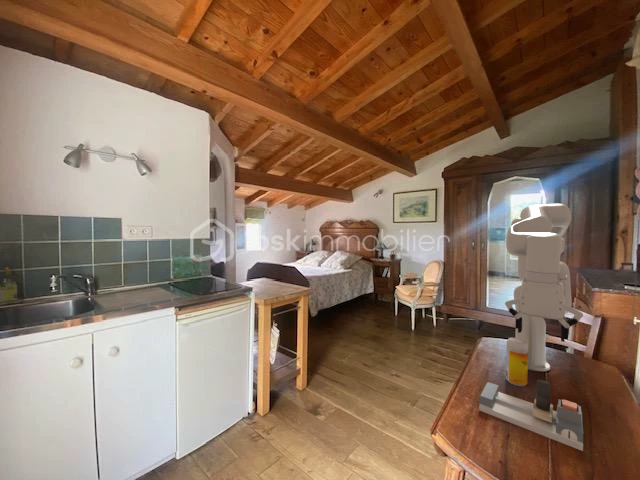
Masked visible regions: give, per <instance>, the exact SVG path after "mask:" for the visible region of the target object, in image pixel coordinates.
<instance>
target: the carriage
mask: <svg viewBox="0 0 640 480" xmlns="http://www.w3.org/2000/svg"><path fill="white" fill-rule="evenodd" d="M551 384H552V383H550V382H548V381H547V380H543V379H536V384H535V385H536V386H535V387H536V389H535V392H536V394H535V398H534V402H533V404H534V406H533V412H532V416H534V417H537V418H540V419H542V420H545V421H548V422H551V423H552V416H553V410H554V405H553V404H552V403H551V387H552V385H551Z"/></svg>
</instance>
